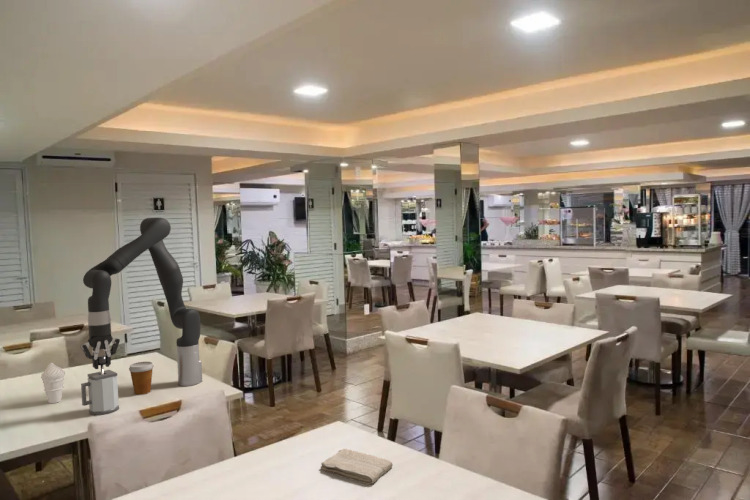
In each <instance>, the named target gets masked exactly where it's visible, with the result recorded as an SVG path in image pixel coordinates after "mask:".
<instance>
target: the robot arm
mask: <svg viewBox="0 0 750 500" xmlns="http://www.w3.org/2000/svg"><path fill="white" fill-rule="evenodd" d="M171 228H172V227H171V223H170V221H168V220H167V219H166V218H164V217H146V218H144V219H143V220H142V221H141V223H140V226H139V230H140V235H139V236H138V237H136V238H134V239H133V240H132V241H130V242H128V243H126V244H124V245H122V246H120V247H119V248H118V249H117V250H115V251H114V252H113V253H112V254H110V255H109V256H108V257H107V258H106V259H105V260H103V261H101V262H99V263H98V264H96V265H95V266H93V267H92V268H89V270H87V271H86V272H85V274H84V276H83V277H82V278H83V280H82V281H83V282H82V283H83V284H84V286H85V287H86V288H89V289H92V295H90V296H89V297H88V298H87V309H88V310H87V311H88V313H87V314H88V315H87V326H88V340H87V342H85V343H81V344H80V348H81V349H82V352H83V354H84V355H85V357H86V359H89V360H91V361H92V368H94V369H95V370H98V369H99V365H98V359H97V357H98V356H99V353H100V350H103V352H104V355H106V357H107V364H105V365H104V366H105V367H107V368H109V367H110V365H111V364H112V360H111V357H112V356H113V355H115V354H116V353H117V350H118V348H119V344H120V342H121V341H120V338H116V337H115V338H114V337H113V336H112V324H111V323H112V322H111V321H112V319H111V314H110V300H109V298H110V294H111V289H112V277H111V276H113V275H117V274H119V273H120V272H122V271H124V269H125V268H127V267H128V266H129V265H130V264H131V263H132V262H133V261H134V260H135V259H137V258H138V257H139V256H141V255H142V254H144V252H146V251H147V250H148V251H149V254H150V257H151V260H152V262H153V265H154V268H155V270H156V275H157V278H158V280H159V282H160V285H161V288H162V291H163V294H164V297H165V300H166V303H167V307H168V311H169V316H170V317H169V318H170V320H171V323H172V325H173V326H174V327H175V328H177V329H180V330H182V331H181V336H180V337H179V338H177V339H176V343H175V344H176V357H177V381H178V384H177V385H179V386H183V387H187V386H188V387H189V386H195V385H197V384H200V383H202V382H203V368H202V367H203V366H202V360H201V359H200V347H199V346H200V344H199V343H200V338H201V316H200V313H199V311H198V310H197V309H195V308H188V307H186V305H185V303H184V299H183V295H182V294H183V293H182V291H183V285H184V277H183V273H182V271H181V268H180V265H179V263H178V262H177V260H176V259H175V258H174V256H173V255H172V254H171V253H170V251H169V250H168V249H167V247H166V244H165V243H164V239H166V238H167V237H168V236H169V235H170V234H171V230H172V229H171ZM111 343H112V345H111V348H110V344H111ZM90 347H91V349H92V350H91V352H90V350H89V348H90Z"/></svg>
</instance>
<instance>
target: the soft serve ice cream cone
mask: <svg viewBox="0 0 750 500" xmlns="http://www.w3.org/2000/svg"><path fill="white" fill-rule="evenodd" d="M65 375H66V372H65V370H64V369H63V368H62V367H60V366H58V365H56V364H54V362H50V363H48V364H47V366H46V369H45V370H44V371H43V372H42V373H41V376H40V378H41V381H42V383H43V387H44V390H43V391H44V393H45V395H46V398H47V402H48V404H51V403H52V404H58V403H60V402H61V401H62V395H63V391H64V380H65ZM57 402H58V403H57Z"/></svg>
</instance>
